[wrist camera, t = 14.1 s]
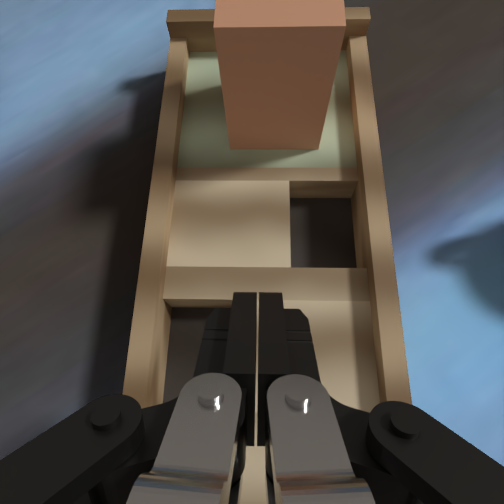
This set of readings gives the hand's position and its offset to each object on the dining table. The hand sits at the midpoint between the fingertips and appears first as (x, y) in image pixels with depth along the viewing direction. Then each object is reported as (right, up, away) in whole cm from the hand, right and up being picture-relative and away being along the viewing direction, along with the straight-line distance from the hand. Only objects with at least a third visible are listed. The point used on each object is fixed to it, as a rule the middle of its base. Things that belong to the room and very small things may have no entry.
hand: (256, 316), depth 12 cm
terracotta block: (+1, +12, +15) cm, 19 cm away
